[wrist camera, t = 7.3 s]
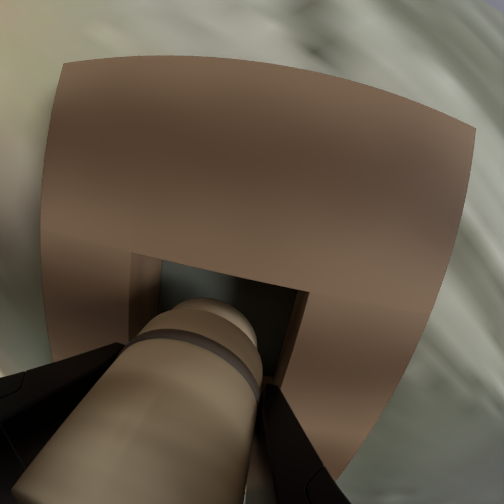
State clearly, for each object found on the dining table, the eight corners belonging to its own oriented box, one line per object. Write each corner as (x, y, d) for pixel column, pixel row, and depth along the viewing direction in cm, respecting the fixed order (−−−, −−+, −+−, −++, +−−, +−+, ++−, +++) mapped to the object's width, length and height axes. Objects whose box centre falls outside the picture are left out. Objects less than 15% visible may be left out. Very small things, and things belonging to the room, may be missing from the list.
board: (317, 461, 15) (319, 500, 12) (95, 405, 15) (72, 434, 12) (435, 135, 10) (476, 128, 7) (104, 79, 11) (63, 63, 8)
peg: (254, 397, 11) (216, 597, 3) (152, 370, 11) (49, 534, 3) (279, 303, 10) (252, 571, 2) (157, 275, 10) (-27, 444, 2)
